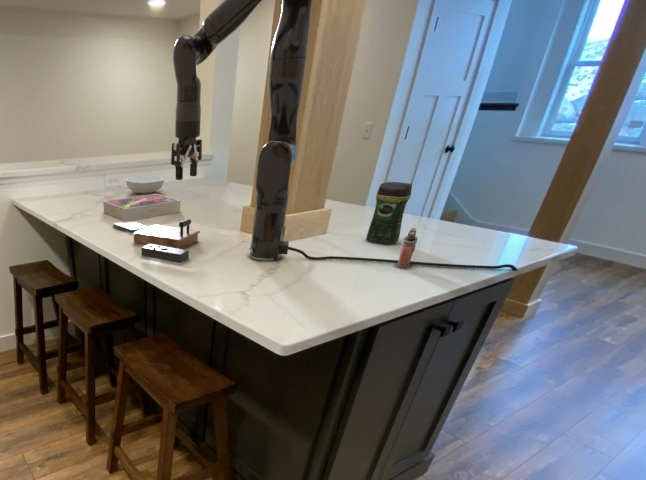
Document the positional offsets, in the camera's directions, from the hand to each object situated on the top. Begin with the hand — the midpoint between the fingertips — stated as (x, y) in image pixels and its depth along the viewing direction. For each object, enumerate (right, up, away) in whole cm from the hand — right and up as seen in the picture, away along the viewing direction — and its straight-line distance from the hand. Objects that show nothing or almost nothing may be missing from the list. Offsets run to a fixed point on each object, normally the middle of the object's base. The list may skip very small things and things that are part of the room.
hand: (186, 177), depth 142 cm
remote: (-7, -26, +2) cm, 27 cm away
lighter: (+63, -31, -12) cm, 71 cm away
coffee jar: (+68, -18, +9) cm, 71 cm away
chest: (-5, -16, +16) cm, 23 cm away
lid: (-5, -13, +14) cm, 20 cm away
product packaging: (-13, +13, +62) cm, 64 cm away
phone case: (-18, -4, +36) cm, 41 cm away
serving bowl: (-10, +41, +104) cm, 112 cm away
